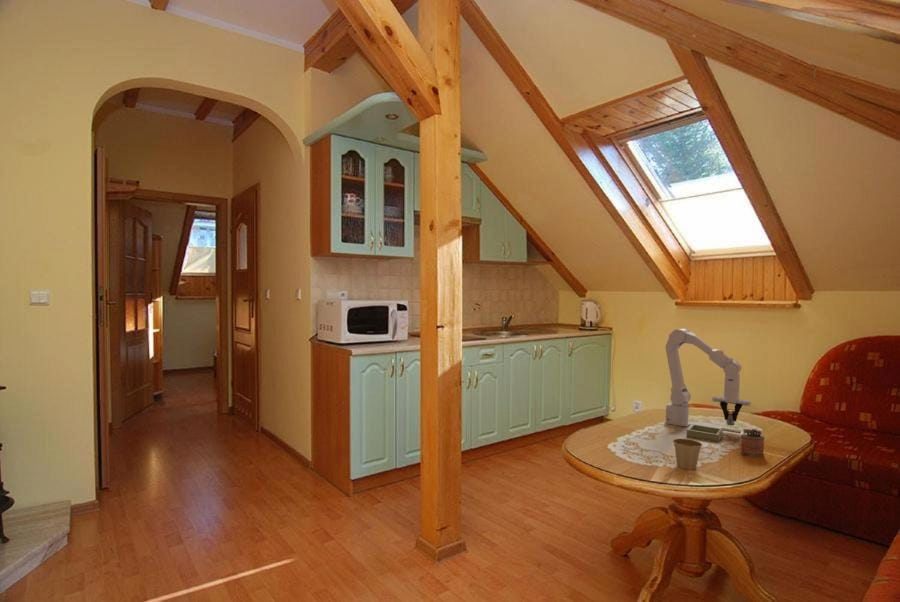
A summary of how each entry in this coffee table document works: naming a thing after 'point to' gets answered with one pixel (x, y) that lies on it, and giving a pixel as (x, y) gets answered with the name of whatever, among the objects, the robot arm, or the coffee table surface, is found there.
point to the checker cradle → (732, 433)
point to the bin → (704, 432)
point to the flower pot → (687, 453)
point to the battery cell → (730, 417)
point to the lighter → (752, 443)
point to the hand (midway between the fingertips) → (730, 420)
